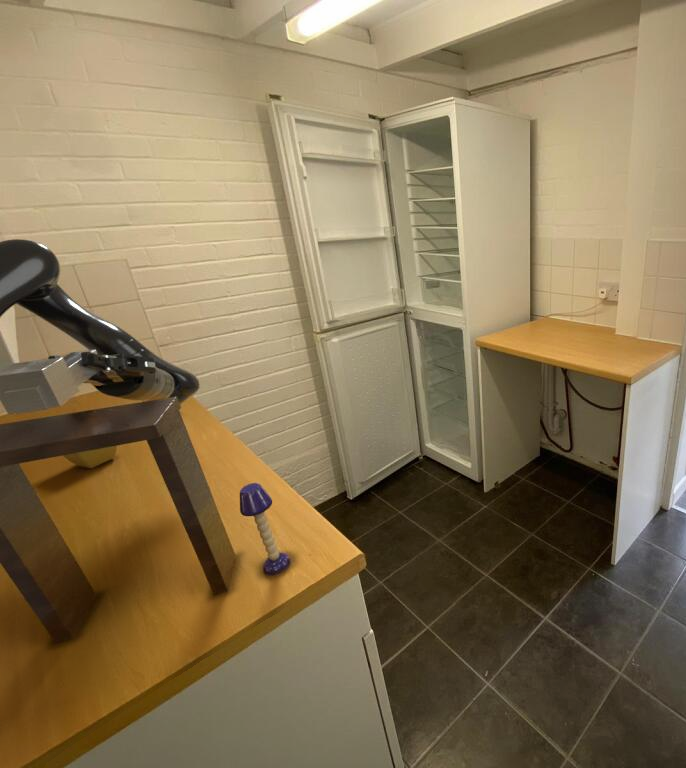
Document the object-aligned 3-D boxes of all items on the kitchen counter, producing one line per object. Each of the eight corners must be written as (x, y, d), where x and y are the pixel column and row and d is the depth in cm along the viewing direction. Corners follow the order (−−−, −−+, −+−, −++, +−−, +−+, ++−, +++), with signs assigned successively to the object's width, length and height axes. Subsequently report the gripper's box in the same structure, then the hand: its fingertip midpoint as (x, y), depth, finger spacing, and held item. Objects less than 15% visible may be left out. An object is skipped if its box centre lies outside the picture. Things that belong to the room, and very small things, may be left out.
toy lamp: (255, 573, 72) (226, 495, 66) (273, 553, 77) (248, 478, 70) (280, 576, 72) (253, 498, 65) (297, 555, 76) (273, 480, 69)
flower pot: (64, 469, 104) (47, 437, 100) (105, 450, 112) (90, 421, 108) (86, 474, 101) (70, 443, 98) (127, 455, 109) (113, 425, 105)
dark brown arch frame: (51, 649, 61) (-78, 465, 48) (85, 595, 69) (-18, 426, 56) (226, 596, 68) (155, 424, 56) (237, 553, 77) (177, 396, 64)
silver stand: (5, 416, 51) (-17, 378, 49) (71, 371, 64) (56, 340, 62) (58, 408, 53) (39, 371, 51) (111, 366, 66) (98, 336, 64)
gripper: (79, 365, 74) (-1, 342, 58) (174, 353, 79) (125, 328, 63) (85, 406, 74) (6, 394, 57) (180, 391, 78) (132, 377, 62)
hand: (69, 360), depth 60 cm, fingers closed on silver stand, 3 cm apart
